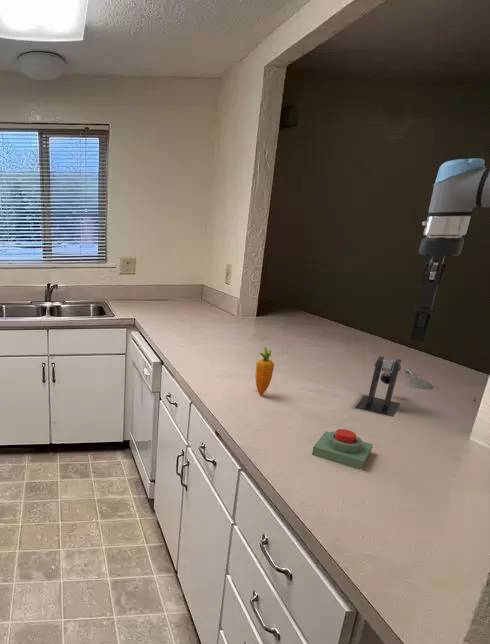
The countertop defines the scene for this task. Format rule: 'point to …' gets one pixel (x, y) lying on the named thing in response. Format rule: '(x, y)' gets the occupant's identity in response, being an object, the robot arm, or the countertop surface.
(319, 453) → the button box
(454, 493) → the countertop surface
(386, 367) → the grey swinging pendulum
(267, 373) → the carrot
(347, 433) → the button
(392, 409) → the twin-post stand
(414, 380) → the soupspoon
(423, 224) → the robot arm
